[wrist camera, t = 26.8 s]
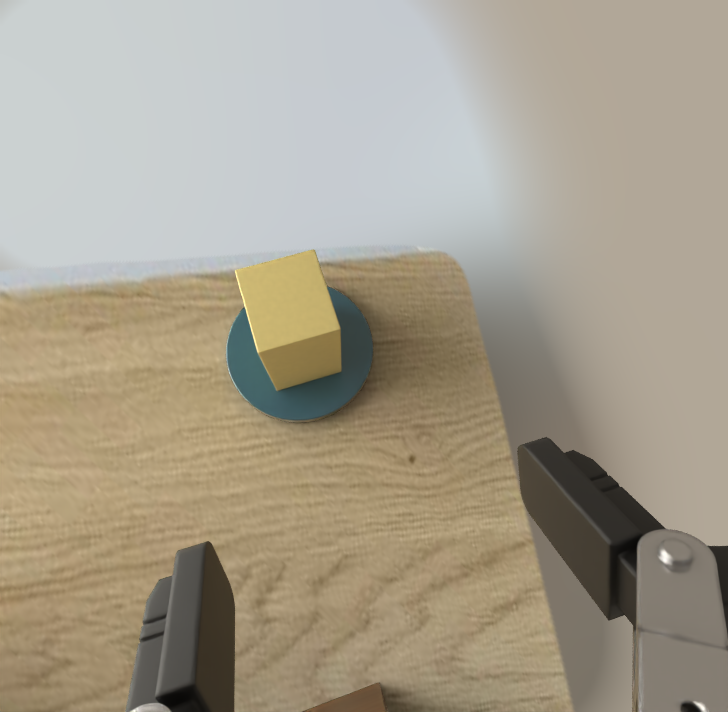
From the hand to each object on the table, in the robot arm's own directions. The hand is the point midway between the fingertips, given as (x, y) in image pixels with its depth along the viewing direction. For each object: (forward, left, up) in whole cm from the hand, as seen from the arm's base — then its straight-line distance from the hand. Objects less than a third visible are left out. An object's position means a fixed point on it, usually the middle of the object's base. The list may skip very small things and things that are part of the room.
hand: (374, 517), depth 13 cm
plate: (-5, -11, -21) cm, 24 cm away
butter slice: (-5, -11, -20) cm, 23 cm away
